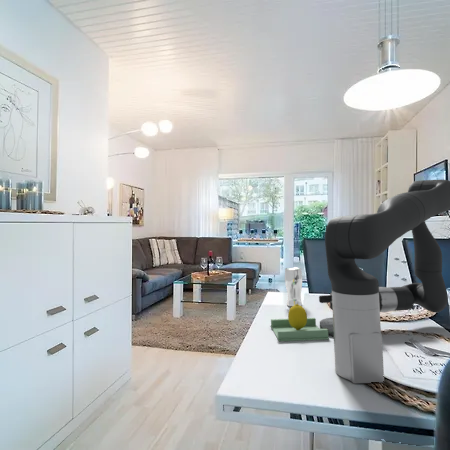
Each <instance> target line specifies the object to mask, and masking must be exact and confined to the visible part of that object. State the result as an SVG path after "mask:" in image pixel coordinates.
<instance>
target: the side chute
mask: <svg viewBox="0 0 450 450" xmlns="http://www.w3.org/2000/svg"><path fill="white" fill-rule="evenodd" d="M270 327H271V329H272V331H273V332H274V334H275V337H276V338H277V341H278V342H291V341H292V342H293V341H294V342H296V341H298V342H299V341H319V340H321V341H322V340H323V341H324V340H330V337H329V335H328V329H320V327H318V325H317V321H316V317H307V323H306V325H305V326H304V327H303V328H302V329H300V330H296V329H295V328H293V327H292V326H291V325H290V323H289V320H288V318H272V319H270Z"/></svg>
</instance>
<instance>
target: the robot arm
mask: <svg viewBox="0 0 450 450" xmlns="http://www.w3.org/2000/svg"><path fill="white" fill-rule="evenodd" d="M449 210H450V180H447V179H425V180H424V179H423V180H421V179H420V180H414V181H413V182H411V183H410V185H409V187H408V189H407V192H402V193H399V194H395V195H394V196H391V197H388V198H387V199H386V200H384V201H383V202H381V204H380V205H379V206H378V208H377V211H376V213H369V214H367V213H365V214H354V215H342V216H341V215H340V216H334V217H332V218H331V219H330V220H329V221H328V222H327V225H326V226H325V227H326V228H325V233H324V247H325V255H326V256H325V257H326V266H327V274H328V275H327V276H328V278H329V281H330V284H331V292H330V293H329V294H325V295H319V296H318V301H319V303H321V304H326V303H327V304H328V303H329V308H330V310H332V318H333V331H334V337H333V350H334V369H335V373H336V374H337V375H338V376H340V377H342V378H343V379H345V380H348V381H350V382H351V383H352V384H372V383H371V382H379V383H384V382H385V371H384V369H385V368H384V353H383V352H384V349H383V335H382V331H381V330H382V328H381V313H388V312H394V311H395V312H396V311H397V312H398V311H407V310H411V309H412V308H413V307H414V305H418V306H419V307H422V308H423V309H425V310H427V311H428V312H431V313H435V314H437V313H441V312H443V310H445V309H446V307H447V304H448V301H449V297H448V296H449V295H448V291H447V287H446V284H445V283H446V282H445V280H444V276H443V274H442V273H443V253H442V249H441V247H440V244H439V243H438V242H437V239H435V237H434V235H433V234H432V233H431V231H430V229H429V228H428V225H427V223H426V221H428V220H429V219H430V218H433V217H434V216H437V215H440V214H442V213H445V212H448V211H449ZM410 231H411V234H412V240H413V248H414V249H413V250H414V260H413V262H414V265H413V266H414V268H413V269H414V275H415V277H417V278H418V280H420V282H413V283H412V282H411V283H409V284H406V285H403V286H389V287H387V286H379V285H380V284H379V280H378V278H376V277H375V276H374V275H372V274H371V273H368V272H366V271H364V269H361V267H359V266H358V264H357V263H356V260H371V259H374V258H377V257H379V256H380V255H381V254H383V253H384V252H386V250H388V249H389V248H390V246H392V244H394V242H395V241H396V240H398V239H400V238H401V237H402V236H404V235H405V234H406V233H408V232H410ZM383 375H384V377H383ZM383 381H384V382H383Z"/></svg>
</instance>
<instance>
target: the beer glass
mask: <svg viewBox="0 0 450 450" xmlns="http://www.w3.org/2000/svg"><path fill="white" fill-rule="evenodd" d="M284 284H285V288H286V293H287V301H286V302H287V303H286V305H287V307H289V306H290V308H291V307H292V306H294V305H296V304H298V305H300V306H302V307H303V301H302V288H303V273H302V268H301V267H286V268H284Z"/></svg>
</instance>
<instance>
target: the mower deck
mask: <svg viewBox="0 0 450 450" xmlns="http://www.w3.org/2000/svg"><path fill="white" fill-rule="evenodd" d="M319 329H328V337H329V336H330V337H333V338H334V331H333V317H326V318H323V319H321V320H320V321H319Z"/></svg>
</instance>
